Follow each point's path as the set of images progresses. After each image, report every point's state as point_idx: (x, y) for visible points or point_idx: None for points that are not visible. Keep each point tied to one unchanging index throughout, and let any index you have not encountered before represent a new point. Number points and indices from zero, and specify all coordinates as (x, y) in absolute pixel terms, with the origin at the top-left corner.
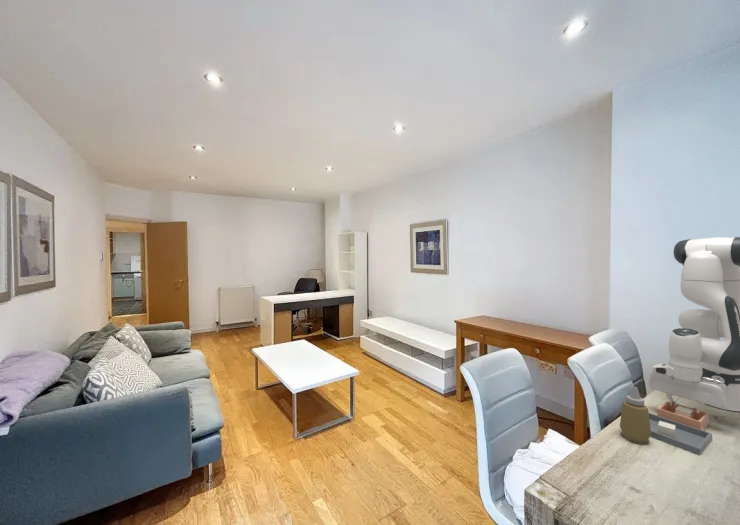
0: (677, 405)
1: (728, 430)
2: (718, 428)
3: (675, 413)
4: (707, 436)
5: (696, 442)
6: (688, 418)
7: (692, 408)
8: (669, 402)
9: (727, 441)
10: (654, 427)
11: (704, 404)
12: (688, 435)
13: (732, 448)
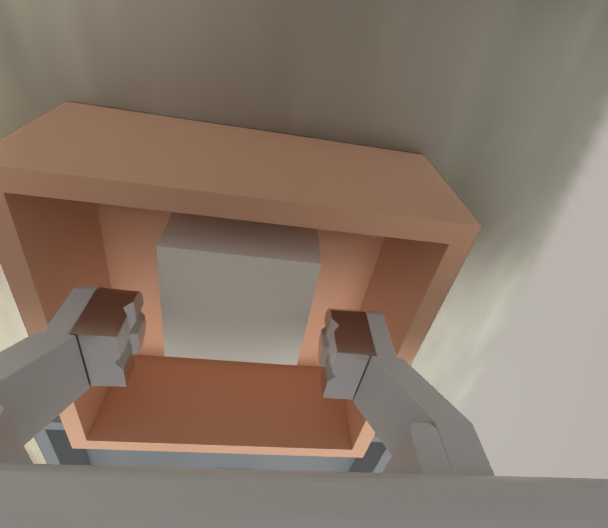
0: (131, 197)
1: (564, 137)
2: (488, 159)
3: (202, 443)
4: (376, 471)
5: (327, 460)
6: (291, 452)
7: (308, 218)
8: (16, 191)
9: (471, 342)
10: (155, 454)
11: (470, 426)
12: None
13: (467, 394)
